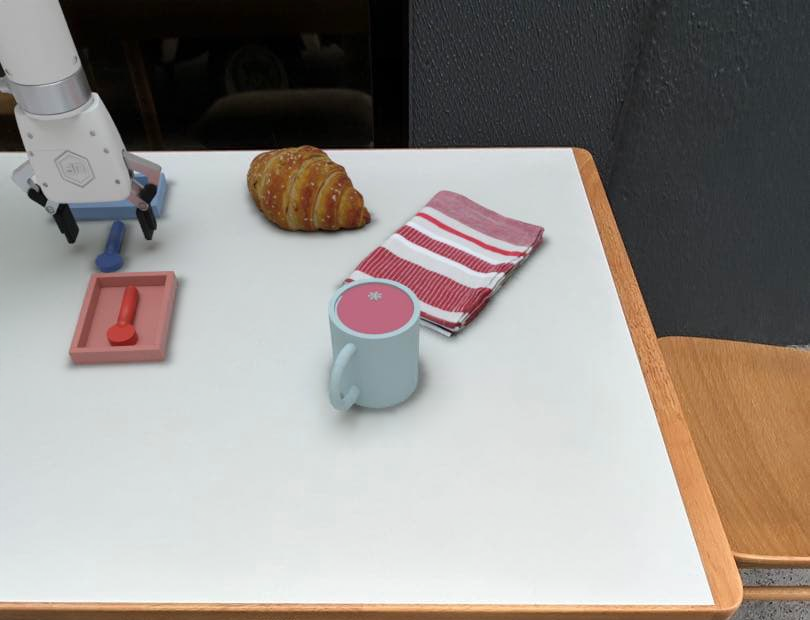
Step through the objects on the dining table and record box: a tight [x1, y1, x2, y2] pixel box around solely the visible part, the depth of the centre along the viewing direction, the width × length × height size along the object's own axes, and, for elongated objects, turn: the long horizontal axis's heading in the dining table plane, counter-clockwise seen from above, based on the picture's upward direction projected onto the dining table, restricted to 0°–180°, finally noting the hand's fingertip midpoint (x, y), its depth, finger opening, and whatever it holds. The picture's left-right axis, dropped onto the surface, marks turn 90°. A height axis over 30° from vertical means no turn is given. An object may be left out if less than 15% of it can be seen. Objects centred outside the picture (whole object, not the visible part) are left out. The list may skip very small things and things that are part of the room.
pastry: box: [246, 144, 371, 232], centre depth 89 cm, size 21×13×8 cm, turn 53°
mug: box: [327, 278, 421, 412], centre depth 70 cm, size 14×9×10 cm
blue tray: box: [68, 172, 168, 221], centre depth 92 cm, size 14×8×2 cm, turn 94°
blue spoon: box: [94, 219, 126, 273], centre depth 86 cm, size 10×3×2 cm, turn 4°
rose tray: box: [68, 270, 179, 365], centre depth 79 cm, size 14×10×2 cm
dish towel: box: [341, 189, 545, 338], centre depth 85 cm, size 17×23×3 cm
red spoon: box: [106, 286, 139, 346], centre depth 78 cm, size 10×3×2 cm, turn 4°
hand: (112, 235), depth 85 cm, fingers open, 9 cm apart
